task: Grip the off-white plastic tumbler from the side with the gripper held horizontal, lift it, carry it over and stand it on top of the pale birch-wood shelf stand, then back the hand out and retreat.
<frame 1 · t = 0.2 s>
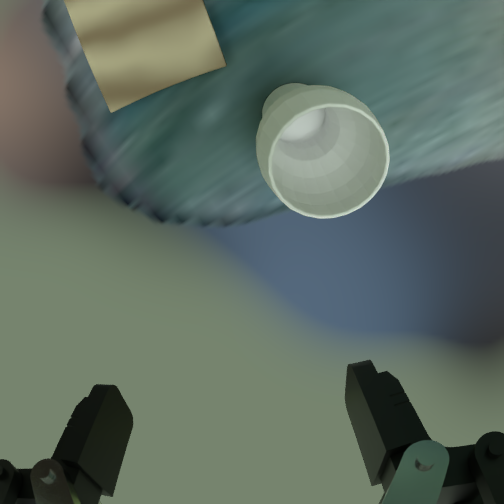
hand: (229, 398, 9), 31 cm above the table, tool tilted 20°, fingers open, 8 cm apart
cup: (294, 113, 33), on the table
shelf stand: (152, 20, 24), on the table
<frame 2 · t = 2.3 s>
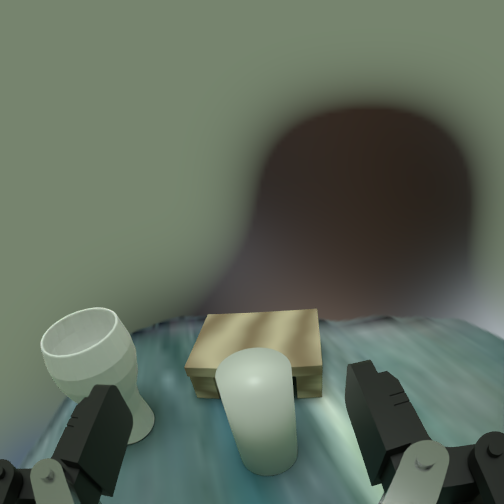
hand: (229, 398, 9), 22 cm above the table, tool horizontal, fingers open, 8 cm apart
cup: (128, 423, 33), on the table
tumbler: (269, 453, 27), on the table
shelf stand: (262, 370, 40), on the table
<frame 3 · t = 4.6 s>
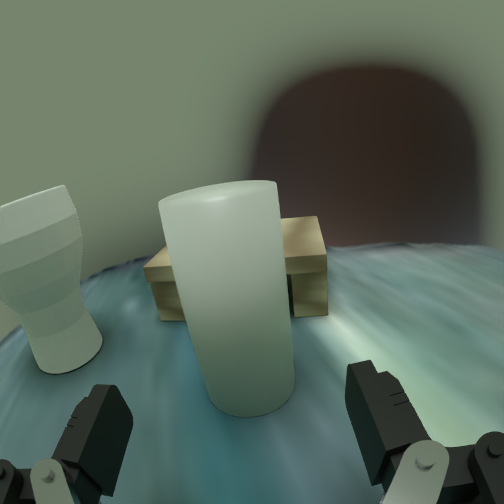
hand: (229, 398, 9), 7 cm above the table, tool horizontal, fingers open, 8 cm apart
cup: (70, 351, 25), on the table
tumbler: (251, 384, 20), on the table
shelf stand: (248, 291, 33), on the table
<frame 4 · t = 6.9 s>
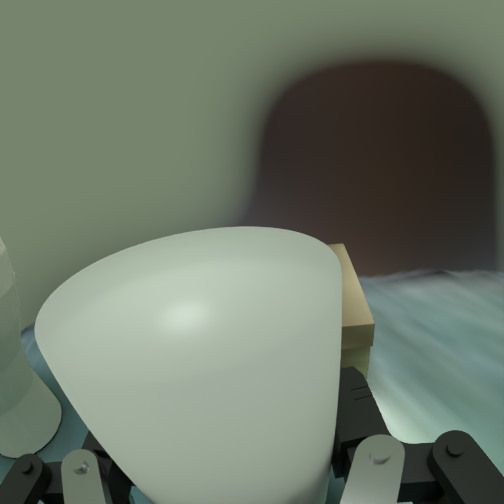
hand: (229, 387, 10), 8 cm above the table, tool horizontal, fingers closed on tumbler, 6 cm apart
cup: (25, 424, 16), on the table
shelf stand: (251, 349, 23), on the table
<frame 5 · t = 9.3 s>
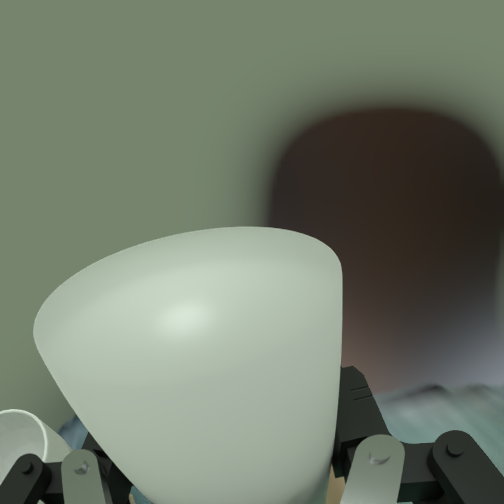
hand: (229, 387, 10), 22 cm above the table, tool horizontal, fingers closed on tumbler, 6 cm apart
shelf stand: (272, 475, 24), on the table
when the fingers open (15 cm above the table, at t = 11.9 s): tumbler drops 1 cm, resting on shelf stand.
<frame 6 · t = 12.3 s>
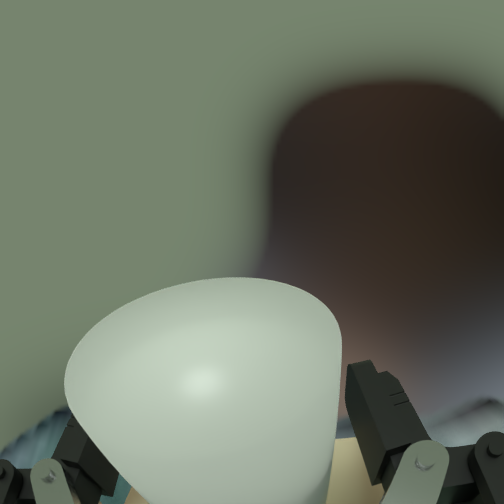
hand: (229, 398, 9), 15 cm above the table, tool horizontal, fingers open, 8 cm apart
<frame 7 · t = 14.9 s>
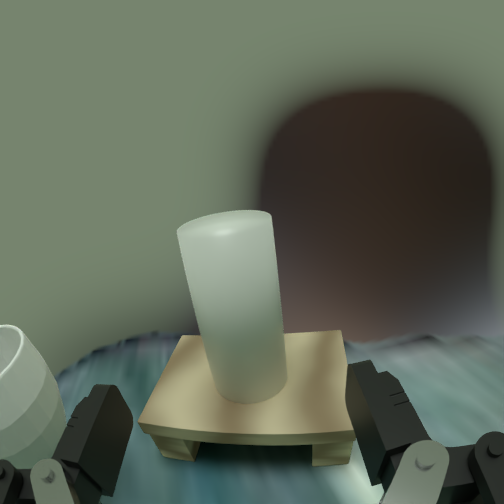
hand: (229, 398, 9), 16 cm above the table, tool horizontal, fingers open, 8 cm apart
cup: (70, 482, 18), on the table
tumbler: (250, 377, 24), point 6 cm above the table, touching shelf stand
shelf stand: (258, 419, 26), on the table
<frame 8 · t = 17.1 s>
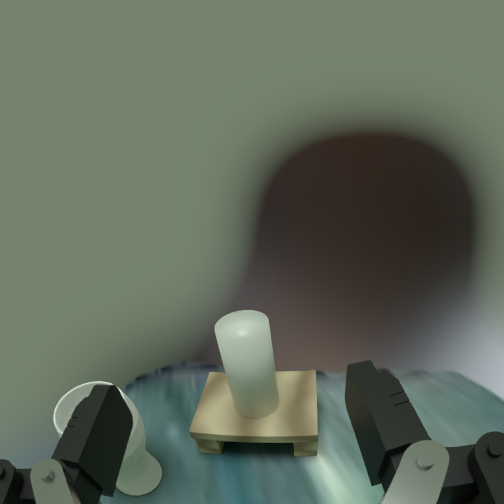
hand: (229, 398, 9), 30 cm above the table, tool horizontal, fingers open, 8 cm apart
cup: (137, 475, 32), on the table
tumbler: (256, 401, 38), point 6 cm above the table, touching shelf stand
shelf stand: (261, 426, 40), on the table
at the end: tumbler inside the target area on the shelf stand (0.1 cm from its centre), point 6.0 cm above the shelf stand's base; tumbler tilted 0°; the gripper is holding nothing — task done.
